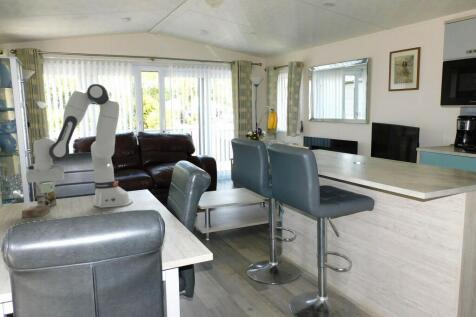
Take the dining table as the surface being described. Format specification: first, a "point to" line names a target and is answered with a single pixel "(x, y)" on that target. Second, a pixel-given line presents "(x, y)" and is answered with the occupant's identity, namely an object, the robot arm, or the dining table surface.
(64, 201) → the dining table surface
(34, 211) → the walnut block
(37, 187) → the coffee box
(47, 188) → the sage cube
